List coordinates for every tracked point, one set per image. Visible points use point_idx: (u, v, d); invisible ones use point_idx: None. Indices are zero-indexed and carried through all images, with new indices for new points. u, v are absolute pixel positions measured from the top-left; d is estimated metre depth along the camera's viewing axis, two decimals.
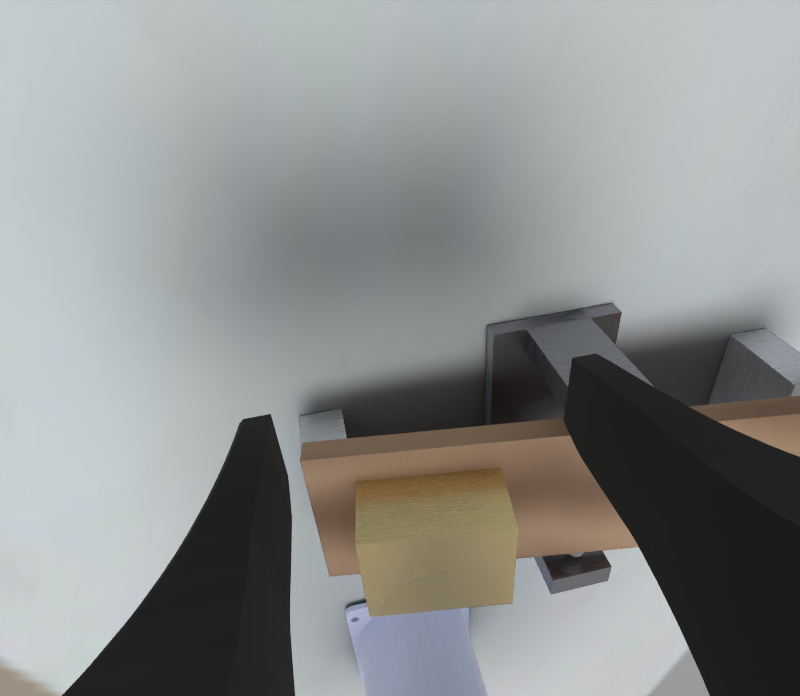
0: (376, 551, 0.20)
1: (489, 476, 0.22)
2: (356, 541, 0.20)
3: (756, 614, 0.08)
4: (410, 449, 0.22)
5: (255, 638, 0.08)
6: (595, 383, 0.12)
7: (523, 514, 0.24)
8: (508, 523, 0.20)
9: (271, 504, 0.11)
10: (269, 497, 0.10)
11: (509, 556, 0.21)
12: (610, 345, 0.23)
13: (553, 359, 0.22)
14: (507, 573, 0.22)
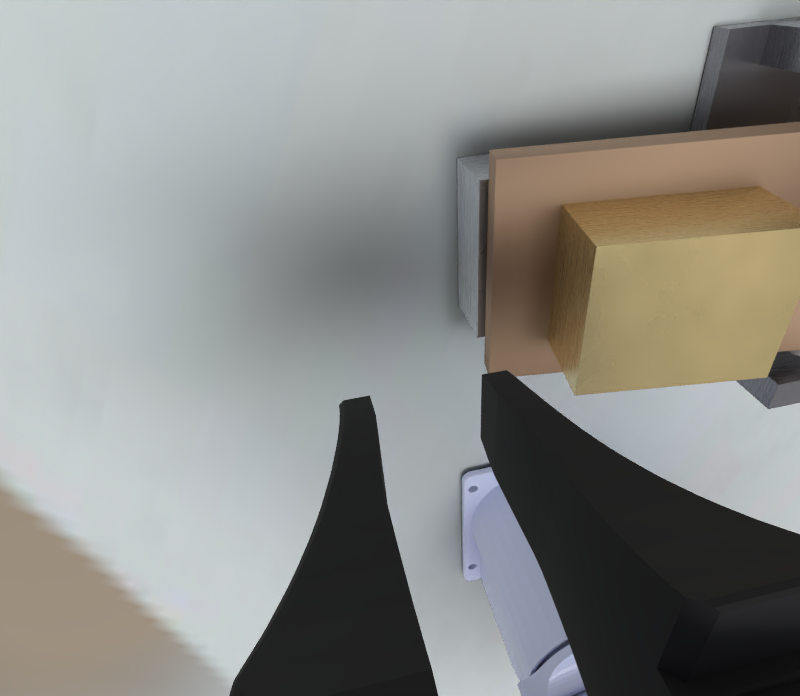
0: (622, 261, 0.14)
1: (748, 192, 0.16)
2: (596, 244, 0.14)
3: (623, 648, 0.08)
4: (647, 145, 0.16)
5: None
6: (498, 402, 0.12)
7: None
8: None
9: (383, 481, 0.11)
10: None
11: (796, 282, 0.15)
12: None
13: None
14: (781, 317, 0.16)
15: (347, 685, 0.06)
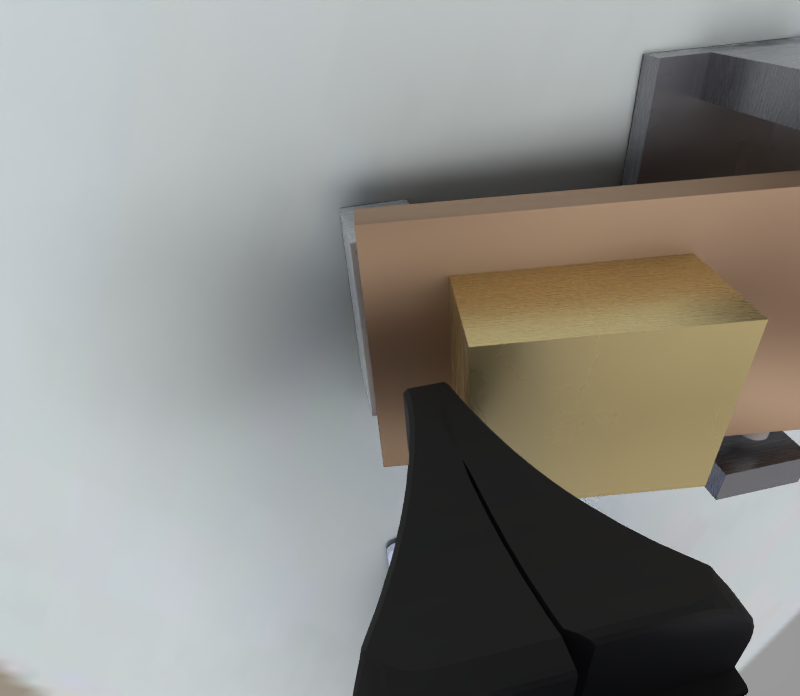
0: (504, 363, 0.11)
1: (678, 262, 0.13)
2: (469, 342, 0.11)
3: None
4: (544, 208, 0.13)
5: None
6: None
7: None
8: (744, 313, 0.11)
9: None
10: None
11: (732, 383, 0.12)
12: None
13: (783, 64, 0.13)
14: (717, 422, 0.13)
15: (479, 652, 0.06)
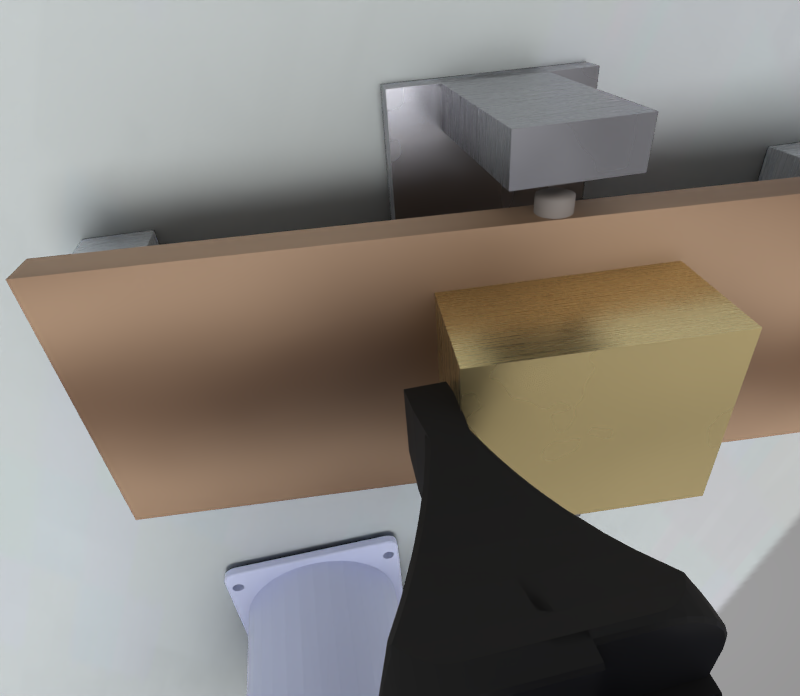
0: (498, 383, 0.11)
1: (666, 271, 0.13)
2: (460, 364, 0.11)
3: None
4: (215, 256, 0.12)
5: None
6: (414, 418, 0.11)
7: None
8: (737, 321, 0.11)
9: None
10: None
11: (727, 392, 0.12)
12: (576, 85, 0.13)
13: (475, 99, 0.13)
14: (713, 431, 0.12)
15: (507, 646, 0.06)
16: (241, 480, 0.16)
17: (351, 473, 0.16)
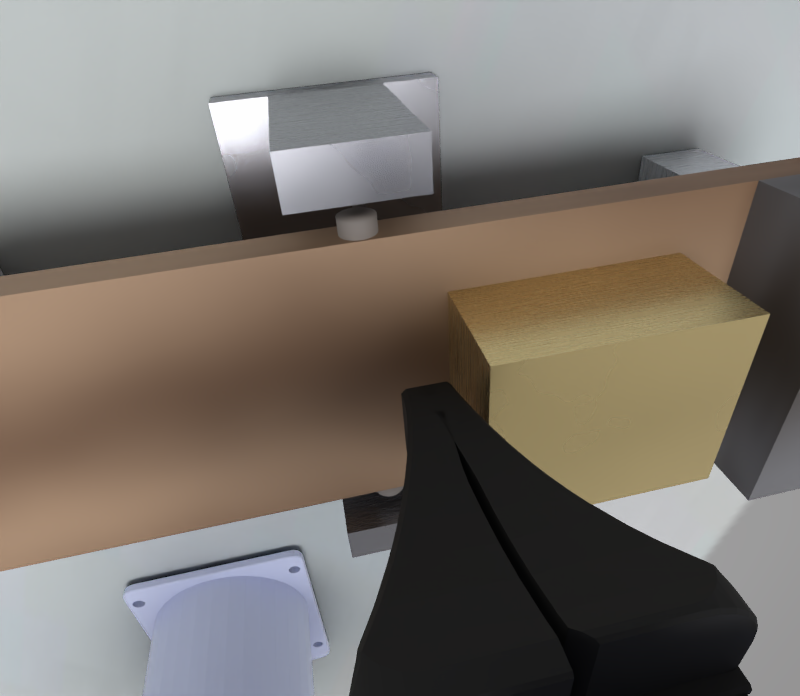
0: (525, 379, 0.11)
1: (669, 262, 0.13)
2: (490, 361, 0.11)
3: None
4: None
5: None
6: None
7: (271, 426, 0.14)
8: (746, 309, 0.11)
9: None
10: None
11: (736, 377, 0.12)
12: (390, 100, 0.13)
13: (277, 115, 0.12)
14: (721, 415, 0.13)
15: (476, 654, 0.06)
16: (71, 528, 0.15)
17: (194, 511, 0.15)
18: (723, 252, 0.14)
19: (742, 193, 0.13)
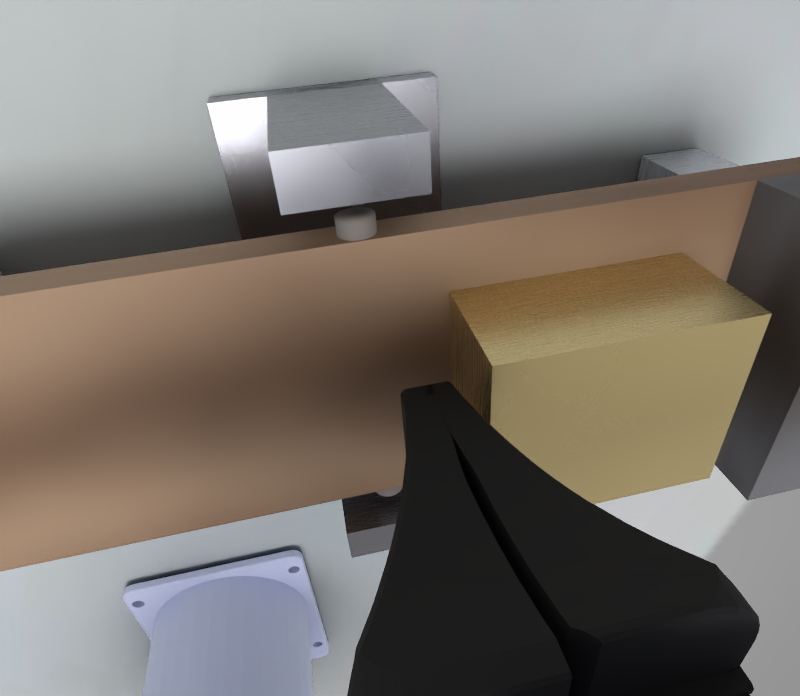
0: (527, 378, 0.11)
1: (670, 262, 0.13)
2: (491, 361, 0.11)
3: None
4: None
5: None
6: None
7: (270, 426, 0.14)
8: (747, 308, 0.11)
9: None
10: None
11: (738, 377, 0.12)
12: (388, 100, 0.13)
13: (275, 116, 0.12)
14: (722, 415, 0.13)
15: (474, 654, 0.06)
16: (70, 528, 0.15)
17: (193, 511, 0.15)
18: (722, 252, 0.14)
19: (741, 193, 0.13)
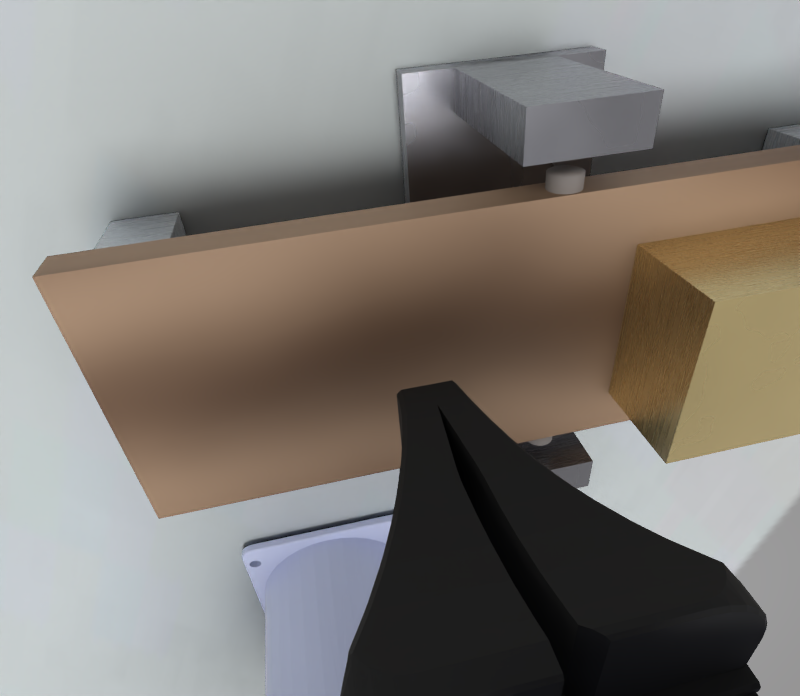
0: (740, 315, 0.12)
1: None
2: (712, 298, 0.12)
3: None
4: (245, 243, 0.12)
5: None
6: None
7: (458, 373, 0.15)
8: None
9: None
10: None
11: None
12: (585, 68, 0.14)
13: (489, 81, 0.13)
14: None
15: (466, 656, 0.06)
16: (265, 469, 0.16)
17: (373, 455, 0.16)
18: None
19: None
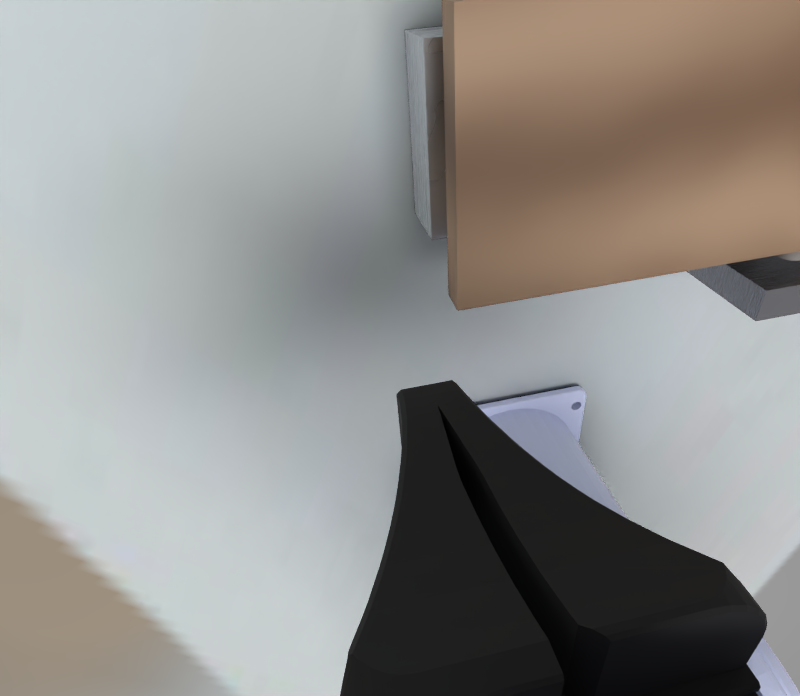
0: None
1: None
2: None
3: None
4: None
5: None
6: None
7: (759, 161, 0.16)
8: None
9: None
10: None
11: None
12: None
13: None
14: None
15: (467, 656, 0.06)
16: (564, 261, 0.17)
17: (657, 254, 0.17)
18: None
19: None
